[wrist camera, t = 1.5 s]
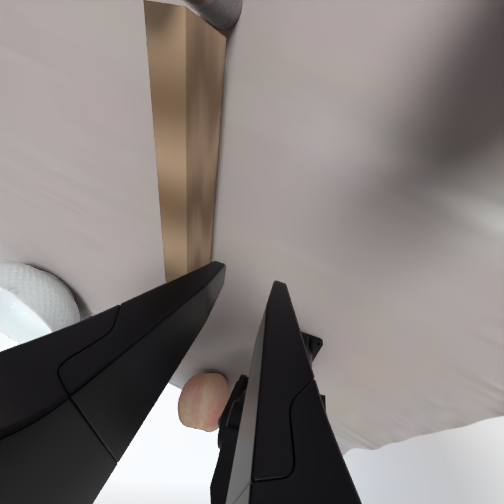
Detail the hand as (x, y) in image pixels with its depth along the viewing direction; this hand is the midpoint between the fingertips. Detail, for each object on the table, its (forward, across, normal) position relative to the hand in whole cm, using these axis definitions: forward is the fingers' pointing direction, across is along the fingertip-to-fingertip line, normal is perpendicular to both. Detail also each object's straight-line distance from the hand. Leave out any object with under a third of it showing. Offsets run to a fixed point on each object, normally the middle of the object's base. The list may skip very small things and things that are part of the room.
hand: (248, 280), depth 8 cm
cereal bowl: (+12, +35, +27) cm, 46 cm away
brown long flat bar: (+12, +7, +3) cm, 14 cm away
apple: (+12, +4, +34) cm, 36 cm away
